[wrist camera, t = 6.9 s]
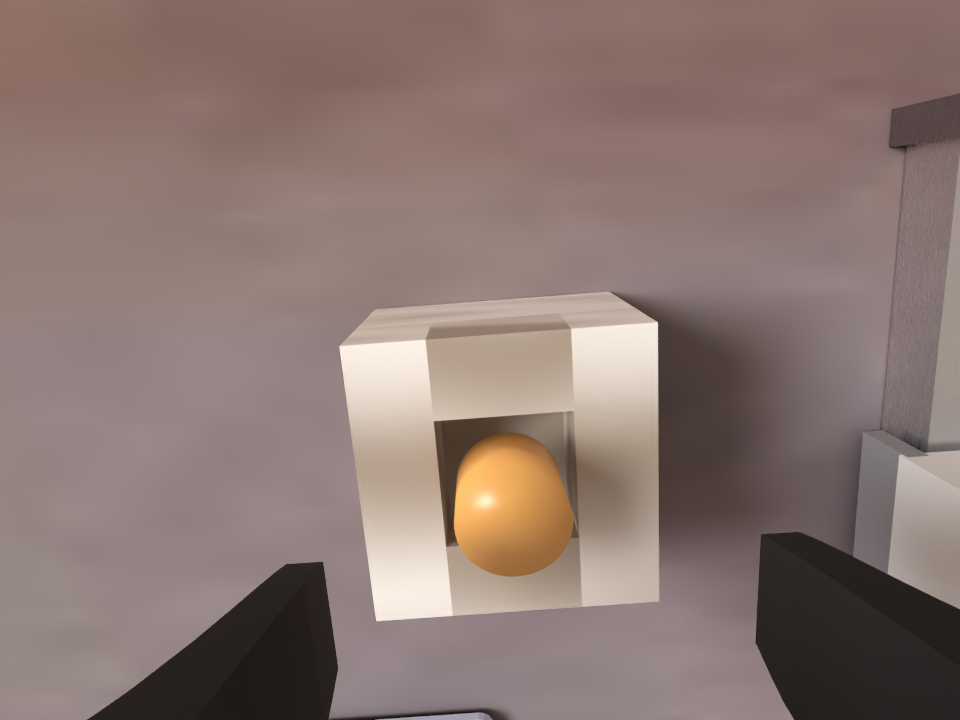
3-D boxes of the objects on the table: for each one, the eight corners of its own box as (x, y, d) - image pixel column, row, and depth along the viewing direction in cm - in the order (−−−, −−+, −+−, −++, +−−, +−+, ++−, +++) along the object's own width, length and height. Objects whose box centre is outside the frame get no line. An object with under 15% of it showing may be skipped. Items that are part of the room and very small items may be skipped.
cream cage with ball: (623, 504, 20) (671, 600, 15) (400, 520, 20) (376, 621, 15) (619, 290, 18) (671, 321, 13) (375, 309, 18) (339, 346, 13)
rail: (938, 602, 21) (1014, 666, 18) (851, 608, 21) (911, 673, 18) (1000, 100, 17) (1109, 79, 14) (892, 109, 17) (978, 89, 14)
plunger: (561, 523, 15) (575, 572, 13) (461, 530, 15) (459, 580, 13) (557, 428, 14) (570, 464, 12) (452, 436, 14) (449, 473, 12)
